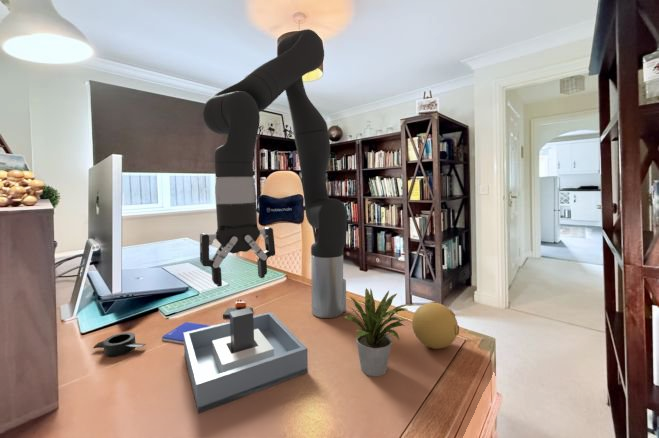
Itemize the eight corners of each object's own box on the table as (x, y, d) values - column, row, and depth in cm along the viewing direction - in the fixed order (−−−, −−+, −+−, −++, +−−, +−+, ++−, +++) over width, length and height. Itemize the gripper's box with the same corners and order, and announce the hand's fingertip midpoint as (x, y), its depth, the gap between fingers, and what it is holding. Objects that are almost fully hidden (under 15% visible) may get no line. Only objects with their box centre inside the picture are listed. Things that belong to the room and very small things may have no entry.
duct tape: (130, 337, 72) (129, 326, 72) (149, 350, 67) (148, 338, 66) (91, 351, 66) (90, 339, 66) (108, 367, 60) (107, 353, 60)
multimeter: (231, 295, 100) (231, 286, 100) (266, 296, 100) (266, 286, 99) (206, 319, 83) (206, 308, 82) (248, 321, 82) (248, 309, 81)
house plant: (395, 409, 48) (397, 314, 46) (324, 380, 55) (324, 297, 54) (418, 364, 60) (421, 288, 58) (358, 346, 68) (358, 277, 66)
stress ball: (424, 362, 63) (465, 341, 59) (398, 320, 66) (435, 297, 62) (434, 348, 71) (470, 329, 67) (410, 311, 75) (443, 291, 71)
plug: (250, 352, 63) (248, 307, 62) (254, 358, 61) (253, 312, 60) (231, 357, 61) (229, 311, 60) (235, 365, 59) (233, 317, 58)
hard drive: (161, 336, 70) (205, 343, 67) (186, 321, 78) (227, 326, 75) (162, 342, 71) (206, 349, 67) (186, 326, 78) (227, 332, 75)
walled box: (271, 330, 75) (270, 311, 74) (307, 372, 58) (307, 348, 57) (184, 354, 64) (183, 332, 64) (198, 413, 48) (196, 384, 47)
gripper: (264, 198, 64) (267, 270, 66) (193, 201, 57) (199, 283, 59) (277, 199, 58) (281, 279, 60) (200, 203, 50) (206, 294, 52)
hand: (240, 281), depth 59 cm, fingers open, 8 cm apart
